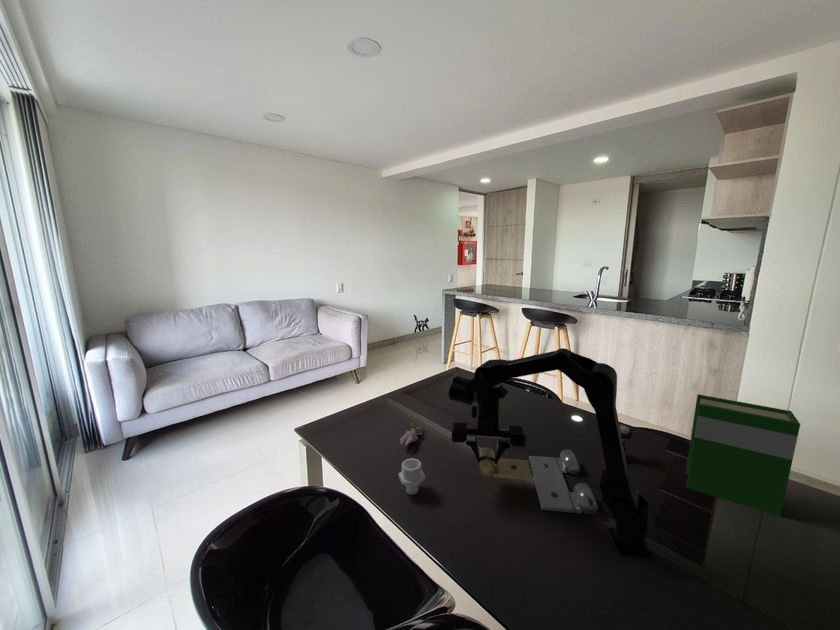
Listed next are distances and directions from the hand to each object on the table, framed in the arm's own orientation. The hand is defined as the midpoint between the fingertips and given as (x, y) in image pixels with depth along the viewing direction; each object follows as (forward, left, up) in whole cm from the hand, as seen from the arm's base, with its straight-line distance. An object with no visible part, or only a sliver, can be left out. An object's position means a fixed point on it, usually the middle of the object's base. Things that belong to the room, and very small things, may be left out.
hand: (487, 462), depth 92 cm
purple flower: (+20, +24, -8) cm, 32 cm away
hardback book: (+6, -62, -8) cm, 63 cm away
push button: (+18, -40, -8) cm, 45 cm away
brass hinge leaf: (0, -5, -2) cm, 5 cm away
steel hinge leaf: (+4, -20, -7) cm, 21 cm away
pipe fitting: (-4, +20, -8) cm, 22 cm away
